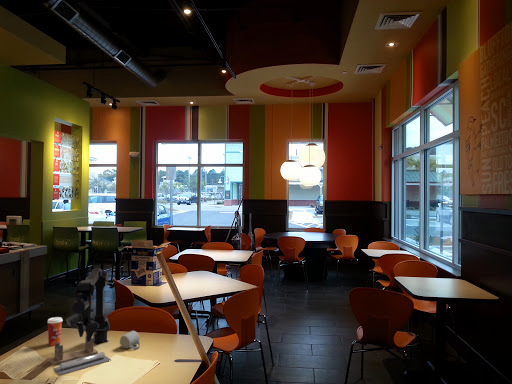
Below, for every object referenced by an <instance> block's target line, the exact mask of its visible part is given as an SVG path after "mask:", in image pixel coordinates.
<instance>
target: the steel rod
mask: <svg viewBox="0 0 512 384" xmlns="http://www.w3.org/2000/svg"><path fill="white" fill-rule="evenodd" d="M105 356H106V355H105V352H104V351H102V352H98V354H94V355H90V356H87V357H83V358H79V359H76V360H72V361H68V362H65V363H61V364H60V365H59V367H60V368H61V370H64V369H68V368H71V367H75V366H78V365H82V364H85V363H89V362H92V361H96V360H99V359H103V358H105Z"/></svg>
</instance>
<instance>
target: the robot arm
mask: <svg viewBox="0 0 512 384" xmlns="http://www.w3.org/2000/svg"><path fill="white" fill-rule="evenodd" d="M109 277H110V276H109V274H108V272H105V271H103V269H101V268H94V269H91V271H90V274H89V275H88V276H87V277H86V279H84V280H81V281H80V282H78V284H77V285H76V290H75V294H74V299H76V301H75V302H74V303H73V305H72V307H71V308H72V311H73V313H74V314H73V315H71V316H68V317H67V318H65V321H66V323H67V326H68V327H70V328H71V327H74V326H76V328H77V331H78V334H79V335H78V336H79V338H82V337H83V335H84V332H85V337H86V339H87V342H90V340H91V338H94V343H95V344H96V345H100V344H102V343H107V342H109V340H108V332H109V331H110V330H111V329H110V328H111V327H110V323H109V320H108V315H107V314H106V313H105V288H106V286H107V284H108V282H109ZM94 294H95V295H94ZM94 296H95V315H94V317H92V312H94V309H92V306H93V303H92V302H93V297H94ZM110 332H111V331H110ZM94 343H93V344H94Z"/></svg>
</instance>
